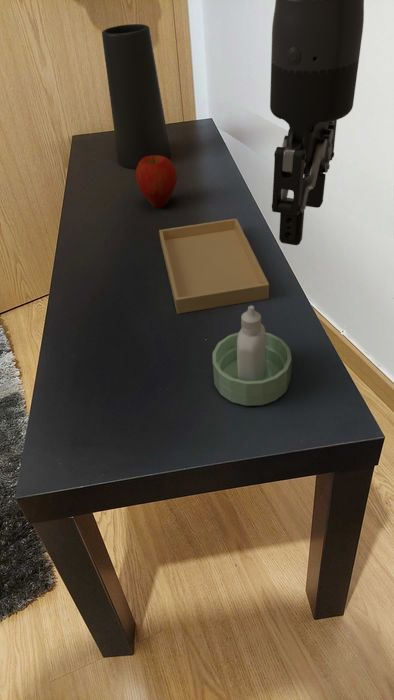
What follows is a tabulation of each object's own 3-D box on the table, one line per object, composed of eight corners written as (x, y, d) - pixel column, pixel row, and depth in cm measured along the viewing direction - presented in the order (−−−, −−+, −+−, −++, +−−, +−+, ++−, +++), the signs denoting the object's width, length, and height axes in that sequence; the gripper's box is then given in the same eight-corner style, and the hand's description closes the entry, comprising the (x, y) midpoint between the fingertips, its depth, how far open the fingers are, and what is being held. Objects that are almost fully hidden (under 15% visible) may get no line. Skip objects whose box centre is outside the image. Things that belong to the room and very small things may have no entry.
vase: (127, 148, 138) (106, 24, 119) (176, 148, 135) (162, 20, 116) (111, 169, 128) (85, 37, 109) (163, 169, 126) (146, 34, 106)
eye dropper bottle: (225, 380, 69) (221, 310, 61) (253, 359, 72) (253, 290, 64) (249, 396, 67) (248, 326, 59) (277, 374, 69) (280, 304, 61)
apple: (181, 196, 114) (176, 147, 106) (177, 214, 107) (171, 163, 100) (144, 197, 115) (136, 149, 108) (137, 215, 108) (129, 165, 101)
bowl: (298, 363, 71) (300, 339, 68) (277, 416, 64) (278, 391, 61) (229, 348, 75) (228, 324, 72) (203, 396, 68) (200, 372, 65)
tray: (269, 298, 83) (269, 284, 81) (177, 314, 82) (175, 300, 80) (237, 231, 100) (236, 218, 98) (160, 242, 99) (158, 230, 97)
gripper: (339, 80, 38) (319, 263, 49) (374, 36, 48) (350, 198, 58) (245, 75, 41) (246, 251, 52) (295, 34, 50) (287, 190, 61)
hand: (301, 223), depth 55 cm, fingers open, 8 cm apart
